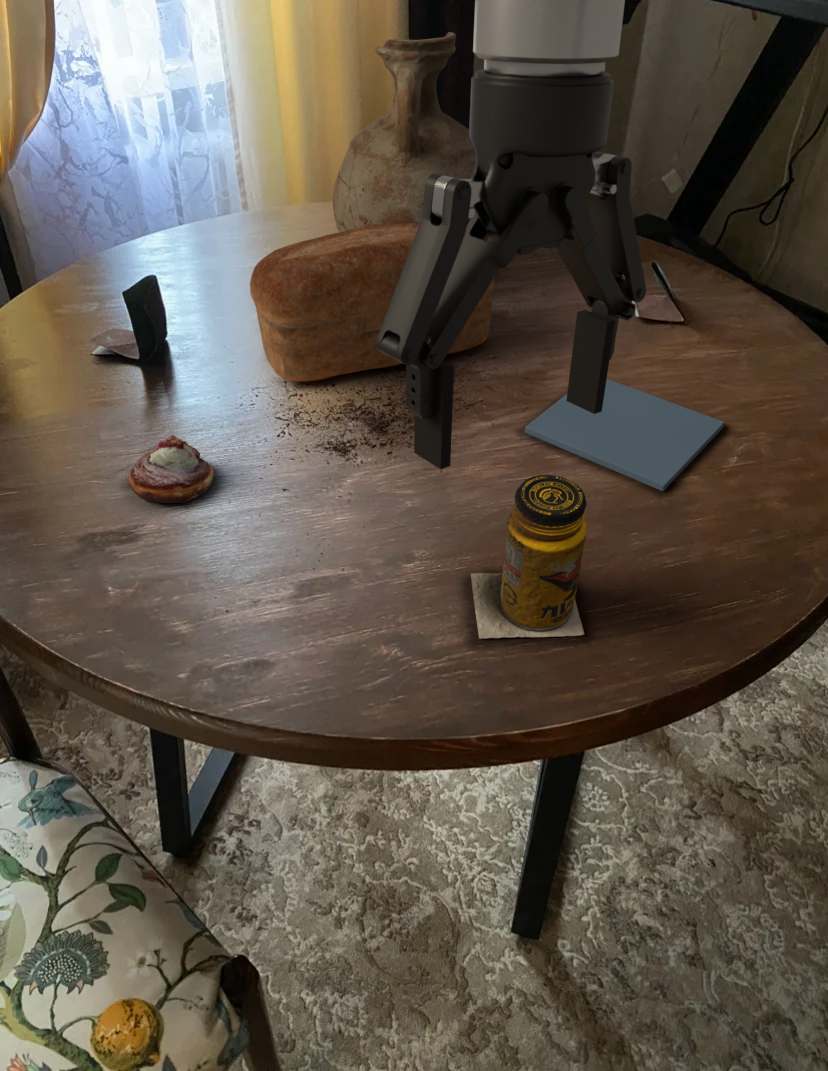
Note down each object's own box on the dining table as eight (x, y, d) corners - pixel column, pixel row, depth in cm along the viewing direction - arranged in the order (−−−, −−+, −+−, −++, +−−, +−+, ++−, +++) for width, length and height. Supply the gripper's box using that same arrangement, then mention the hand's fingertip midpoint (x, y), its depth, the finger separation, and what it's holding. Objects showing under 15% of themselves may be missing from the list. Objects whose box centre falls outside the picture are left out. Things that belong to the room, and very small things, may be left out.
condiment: (584, 636, 67) (606, 522, 59) (478, 640, 67) (486, 526, 59) (567, 573, 73) (586, 461, 65) (470, 576, 72) (476, 464, 64)
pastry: (224, 465, 84) (216, 424, 81) (197, 512, 79) (187, 470, 76) (149, 457, 86) (138, 416, 82) (117, 504, 80) (104, 461, 77)
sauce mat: (723, 428, 89) (725, 421, 89) (662, 492, 81) (664, 485, 80) (591, 379, 97) (592, 372, 96) (524, 433, 89) (524, 426, 88)
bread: (252, 349, 102) (235, 233, 93) (462, 310, 110) (466, 199, 100) (276, 399, 94) (260, 277, 84) (502, 353, 101) (511, 236, 92)
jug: (477, 243, 126) (488, 11, 106) (509, 309, 110) (529, 50, 90) (333, 252, 124) (316, 17, 104) (344, 320, 108) (327, 57, 88)
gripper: (644, 54, 53) (599, 371, 65) (301, 70, 40) (322, 461, 52) (747, 62, 48) (678, 404, 60) (392, 84, 35) (393, 513, 47)
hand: (512, 431), depth 56 cm, fingers open, 13 cm apart
